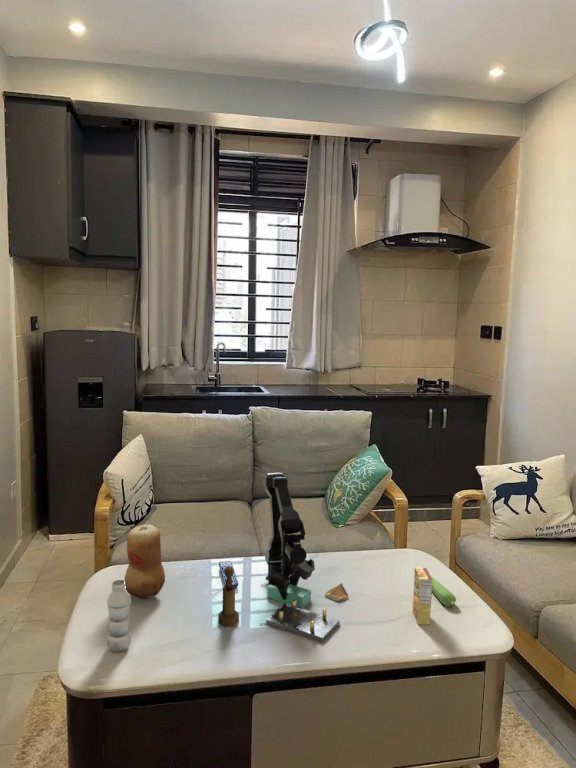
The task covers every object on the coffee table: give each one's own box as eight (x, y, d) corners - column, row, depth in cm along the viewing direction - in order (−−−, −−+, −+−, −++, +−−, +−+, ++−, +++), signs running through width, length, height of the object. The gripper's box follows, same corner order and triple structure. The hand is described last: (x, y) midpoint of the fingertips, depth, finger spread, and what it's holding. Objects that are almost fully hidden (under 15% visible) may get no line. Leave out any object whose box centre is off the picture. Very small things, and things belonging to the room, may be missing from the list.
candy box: (411, 610, 190) (413, 567, 188) (424, 611, 190) (426, 567, 188) (417, 624, 181) (419, 579, 179) (430, 625, 181) (433, 579, 179)
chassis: (266, 623, 180) (266, 610, 179) (285, 607, 190) (285, 595, 190) (322, 642, 170) (322, 628, 170) (339, 624, 180) (339, 611, 180)
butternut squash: (116, 601, 193) (115, 530, 190) (140, 584, 205) (139, 517, 202) (150, 609, 187) (149, 536, 185) (173, 592, 200) (172, 523, 197)
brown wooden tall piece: (242, 618, 183) (242, 564, 181) (233, 628, 177) (234, 573, 175) (223, 614, 185) (223, 561, 183) (214, 624, 179) (214, 569, 177)
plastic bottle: (109, 642, 168) (108, 577, 166) (133, 641, 168) (132, 577, 166) (104, 655, 161) (103, 588, 159) (129, 654, 162) (128, 587, 160)
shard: (341, 586, 207) (341, 582, 207) (358, 593, 202) (359, 588, 202) (323, 597, 199) (323, 592, 199) (341, 604, 194) (341, 599, 194)
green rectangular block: (267, 597, 198) (267, 586, 197) (276, 590, 203) (276, 580, 202) (301, 608, 190) (302, 597, 190) (310, 601, 195) (310, 590, 195)
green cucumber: (443, 598, 190) (456, 593, 191) (419, 574, 210) (431, 570, 211) (447, 612, 191) (459, 607, 192) (423, 586, 211) (434, 582, 211)
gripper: (297, 567, 183) (296, 613, 184) (323, 548, 199) (321, 590, 200) (267, 559, 188) (267, 604, 190) (295, 541, 204) (294, 583, 206)
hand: (289, 595), depth 196 cm, fingers closed on green rectangular block, 6 cm apart
